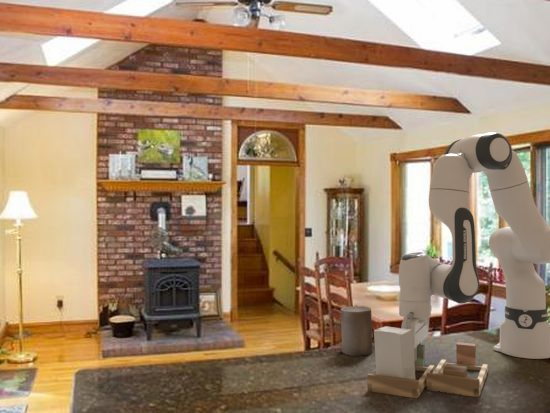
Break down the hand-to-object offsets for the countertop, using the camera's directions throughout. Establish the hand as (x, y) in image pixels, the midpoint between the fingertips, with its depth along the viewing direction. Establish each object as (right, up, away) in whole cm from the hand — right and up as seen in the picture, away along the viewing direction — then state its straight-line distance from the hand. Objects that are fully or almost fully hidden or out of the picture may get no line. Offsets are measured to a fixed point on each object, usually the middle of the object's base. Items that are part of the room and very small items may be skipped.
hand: (415, 358), depth 152 cm
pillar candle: (-14, -3, +16) cm, 22 cm away
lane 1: (-6, -2, -11) cm, 13 cm away
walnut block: (+5, -2, -19) cm, 19 cm away
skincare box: (-10, -3, -19) cm, 21 cm away
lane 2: (+9, -2, -11) cm, 14 cm away
